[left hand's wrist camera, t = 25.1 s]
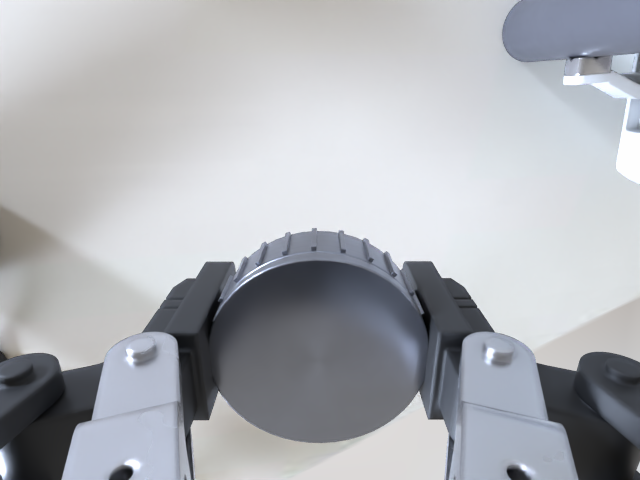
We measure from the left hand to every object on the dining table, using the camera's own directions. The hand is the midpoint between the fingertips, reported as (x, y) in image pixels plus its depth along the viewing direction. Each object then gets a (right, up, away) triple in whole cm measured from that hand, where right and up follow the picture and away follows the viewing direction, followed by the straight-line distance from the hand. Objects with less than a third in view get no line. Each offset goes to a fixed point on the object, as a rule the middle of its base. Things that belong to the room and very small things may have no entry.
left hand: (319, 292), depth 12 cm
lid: (0, -1, -2) cm, 3 cm away
